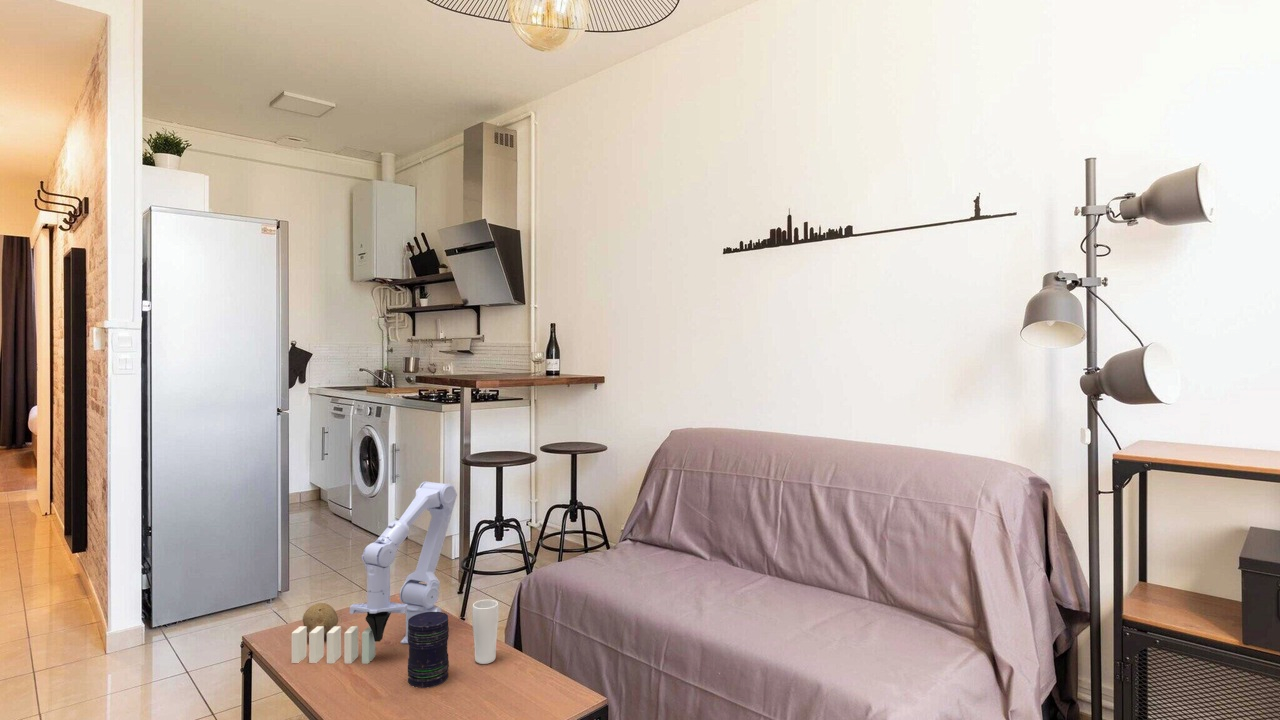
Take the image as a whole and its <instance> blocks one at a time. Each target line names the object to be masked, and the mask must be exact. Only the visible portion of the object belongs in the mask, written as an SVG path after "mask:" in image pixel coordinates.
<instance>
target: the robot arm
mask: <svg viewBox="0 0 1280 720" xmlns="http://www.w3.org/2000/svg"><path fill="white" fill-rule="evenodd" d="M457 496H458V494H457V491H456V489H455V486H454V485H453V484H452V483H441V482H433V481H432V482H431V481H428V480H427V481H425V480H424V481H423V482H421V483H420V484H419V486H418V488H416V489H415V497H414V498H413V500H412V501H411V503H410V504H409V505H408V507H407V508H406V510H405V511H404V512H403V514H402V515H401V516H400V518H399V519H398V520H392V521H391V522H389V523H388V524H387V527H386V528H385V530H384V531H383V532H382V533H381V535H380V536H378V538H377V539H376V540H375V541H374V542H371V543H369V544H368V545H366V547H365V548H364V549H363V552H362V555H361V560H362V563H363V564H364V568H365V571H366V602H362V603H352V605H350V606H349V615H353V614H366V616H365V621H366V622H367V625H368V626H370V628H371V630H372V633H373V636H374V640H375V643H376V642H381V640H383V638H384V632H385V629H386V625H387V623H388V620H389V618H390V617H391V614H401V615H405V636H404V637H403V638H402V640H400V644H408V620H409V618H411V617H412V616H414V615H417V614H420V613H424V612H442V608H441V606H435V605H436V604H437V602H438V601H439V593H440V592H439V591H440V590H439V589H440V584H441V581H440V580H439V579H438V577H437V576H436V575H435V573H436V570H437V566H438V563H439V560H440V556H441V552H442V549H443V546H444V542H445V539H446V535H447V532H448V528H449V526H450V521H451V517H452V514H453V511H454V510H453V509H454V507H455V503H456V499H457ZM426 510H427V511H428V512H429V514H430V515H431V518H430V522H429V524H428V528H427V532H426V534H425V537H424V542H423V544H422V548H421V551H420V554H419V558H418V561H417V564H416V568H415V570H414V571H412V572H411V573H410V574H408V575H407V576H406V579H405V581H404V583H403V585H402V586H401V587H400V590H399V600H400V602H401V603H398V602H392V601H391V564H393V563H394V561H395V559H396V554H397V552H398V548H399V547H400V545H402V543H403V542H404V541H405V540H406V538H407V537H408V536H409V534H410V527H411V526H412V525H413V524H414V523H415V522H416V521H417V520H418V519H419V517H420V516H421V515H423V513H424V512H425V511H426Z"/></svg>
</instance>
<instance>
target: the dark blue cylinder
mask: <svg viewBox="0 0 1280 720" xmlns="http://www.w3.org/2000/svg"><path fill="white" fill-rule="evenodd" d="M449 628H450V627H449V615H448V614H447V613H445V612H442V611H441V612H424V613H420V614H417V615H414V616H412V617H411V618H409V620H408V643H407V644H408V658H407V683H409V684H410V685H409V684H408V685H409V686H411V687H412V686H414V687H413V688H416V687H418V688H417V689H428V688H427V687H429V688H433V687H437V686H440V685H442V684H443V683H445V682H446V681H447V680H448V678H449V667H450V662H449V661H450V660H449V653H448V640H449V631H450V630H449Z"/></svg>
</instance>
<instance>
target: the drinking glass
mask: <svg viewBox="0 0 1280 720" xmlns="http://www.w3.org/2000/svg"><path fill="white" fill-rule="evenodd" d="M471 609H472V613H471V615H472V616H471V619H472V620H471V621H472V633H473V642H474V643H473V645H474V660H475V662H476V663H477V664H480V665H487V664H490V663H494V661H496V658H497V657H496V656H497V653H496V652H497V639H498V628H499V602H498V601H497V600H494V599H481V600H476V601H475V602H474V603H473V604H472V608H471Z"/></svg>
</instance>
